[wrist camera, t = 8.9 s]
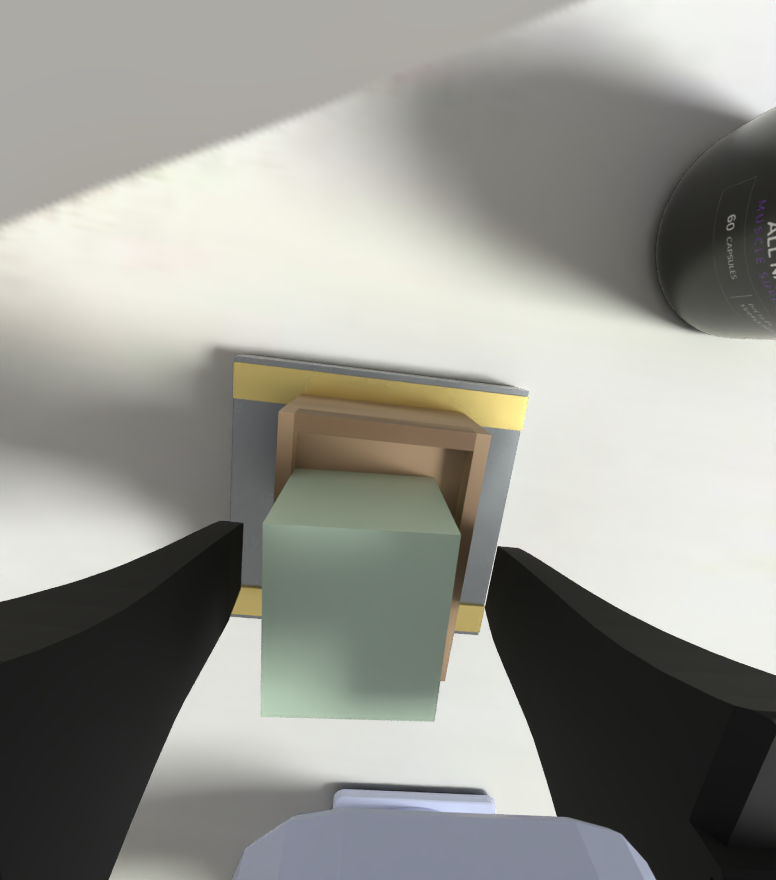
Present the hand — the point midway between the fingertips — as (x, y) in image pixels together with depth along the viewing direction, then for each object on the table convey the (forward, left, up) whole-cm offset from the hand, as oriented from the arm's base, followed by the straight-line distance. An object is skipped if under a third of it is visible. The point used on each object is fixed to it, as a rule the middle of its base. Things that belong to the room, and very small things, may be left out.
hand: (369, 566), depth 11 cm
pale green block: (0, 0, -1) cm, 1 cm away
